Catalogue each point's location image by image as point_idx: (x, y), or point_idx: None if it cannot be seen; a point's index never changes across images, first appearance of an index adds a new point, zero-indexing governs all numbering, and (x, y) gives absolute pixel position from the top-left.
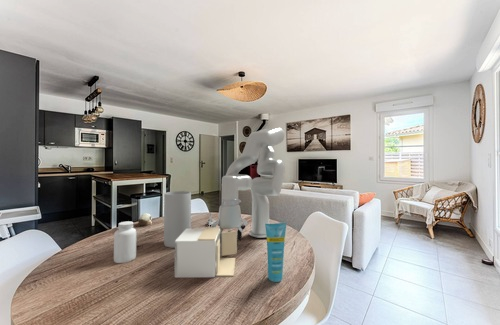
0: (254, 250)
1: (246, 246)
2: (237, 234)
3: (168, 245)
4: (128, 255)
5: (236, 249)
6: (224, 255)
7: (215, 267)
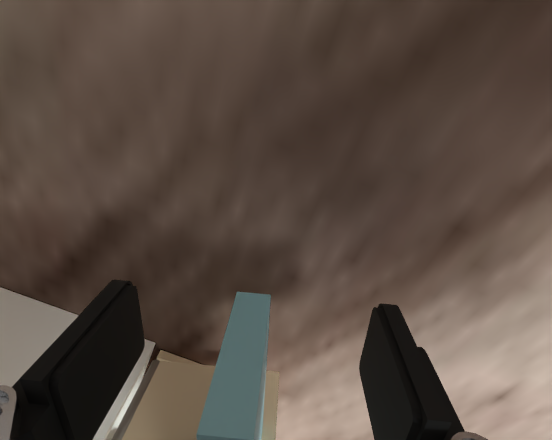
0: (463, 334)
1: (461, 237)
2: (389, 366)
3: None
4: None
5: (274, 411)
6: (179, 369)
7: (111, 431)
